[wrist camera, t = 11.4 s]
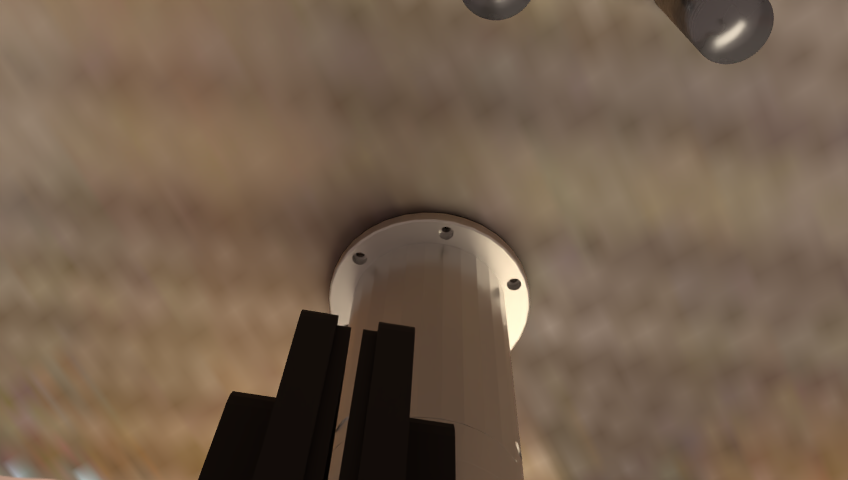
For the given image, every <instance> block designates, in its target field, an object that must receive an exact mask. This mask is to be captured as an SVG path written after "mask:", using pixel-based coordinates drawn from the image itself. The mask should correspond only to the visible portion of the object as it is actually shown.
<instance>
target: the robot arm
mask: <svg viewBox="0 0 848 480" xmlns="http://www.w3.org/2000/svg"><path fill="white" fill-rule="evenodd" d="M443 227H449V228H448V229H445V228H443ZM359 252H361V253H363V254H360V253H359ZM329 309H330V314H327V313H321V312H314V311H308V310H302V311H301V314H300V317H299V320H298V324H297V327H296V331H295V334H294V338H293V341H292V345H291V348H290V351H289V355H288V358H287V362H286V365H285V369H284V372H283V376H282V379H281V383H280V386H279V389H278V393H277V396H276V398H275V397H268V396H261V395H255V394H248V393H241V392H235V391H233V392H232V393H231V394H230V396H229V398H228V400H227V403H226V405H225V408H224V411H223V414H222V416H221V419H220V422H219V424H218V427H217V430H216V433H215V435H214V438H213V441H212V443H211V446H210V449H209V452H208V454H207V457H206V460H205V462H204V465H203V468H202V471H201V473H200V476H199V479H198V480H524V476H523V466H522V457H521V447H520V438H519V428H518V419H517V410H516V400H515V391H514V381H513V372H512V363H511V353H510V351H511V350H512V349H513V348H514V346H515V345H516V343H517V342H518V341H519V339H520V338H521V336H522V334H523V332H524V329H525V327H526V325H527V322H528V317H529V311H530V292H529V286H528V281H527V276H526V274H525V271H524V269H523V267H522V264H521V262H520V260H519V259H518V257H517V256H516V254H515V253H514V252H513V250H512V249H511V247H510V246H508V245H507V244H506V243H505V242H504V241H503V240H502V239H501V238H500V237H499V236H498V235H497V234H495V233H493V232H492V231H490V230H489V229H487V228H485V227H484V226H482V225H480V224H478V223H475V222H473V221H470V220H468V219H465V218H463V217H458V216H453V215H449V214H444V213H415V214H407V215H402V216H398V217H395V218H392V219H388V220H385V221H383V222H381V223H379V224H377V225H375V226H373V227H371V228H369V229H368V230H366V231H365V232H364V233H362V234H361V235H360V236H359V237H357V238H356V239H355V240H354V241H353V242H352V243H351V244H350V245H349V246H348V248H347V249H346V250H345V251H344V252H343V254H342V256H341V257H340V259H339V261H338V263H337V265H336V267H335V270H334V273H333V277H332V280H331V285H330V292H329Z"/></svg>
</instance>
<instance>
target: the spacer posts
mask: <svg viewBox="0 0 848 480" xmlns="http://www.w3.org/2000/svg"><path fill="white" fill-rule="evenodd" d="M654 1H655V3H656V4H657V5H658V6H659V8H660V9H661V10H662V11H663V12H664V13H665V14H666V15H667V16H668V17H669V19H670V20H671V21H672V22H673V23H674V24H675V25H676V26H677V27H678V28H679V30H680V31H681V32H682V33H683V34H684V35H685V36H686V37H687V38H688V39H689V41H690V42H691V43H692V44H693V45H694V46H695V47H696V48H697V49H698V50H699V52H700V53H701V54H702V55H703V56H704V57H706V58H707V59H709V60H710V61H713V62H715V63H719V64H733V63H737V62H741V61H743V60H745V59H747V58H749V57H751V56H752V55H754V54H755V53H756V52H757V51H758V50H759V49H760V48H761V47H762V46H763V45H764V44H765V42H766V41H767V39H768V37H769V35H770V33H771V30H772V27H773V20H774V16H773V9H772V6H771V4H770V2H769V0H654ZM463 2H464V4H465V5H466V6H467V8H468V9H469V10H470V11H472V12H473V13H474V14H476V15H477V16H479V17H482V18H485V19H488V20H503V19H507V18H510V17H512V16H514V15H516V14H518V13H519V12H520V11H522V10H523V9H524V8H525V7H526V6H527V4H528V3H529V2H530V0H463Z"/></svg>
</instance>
